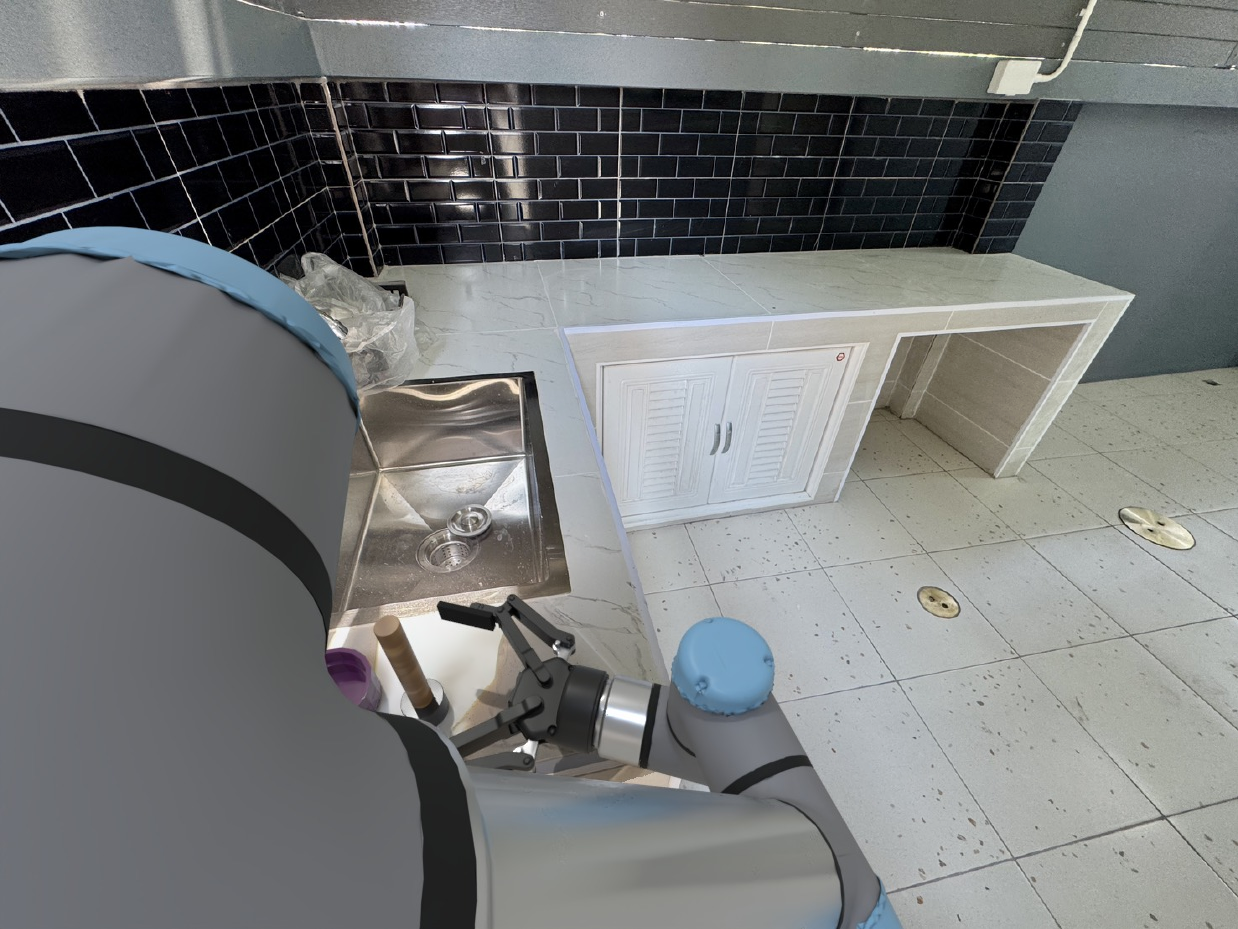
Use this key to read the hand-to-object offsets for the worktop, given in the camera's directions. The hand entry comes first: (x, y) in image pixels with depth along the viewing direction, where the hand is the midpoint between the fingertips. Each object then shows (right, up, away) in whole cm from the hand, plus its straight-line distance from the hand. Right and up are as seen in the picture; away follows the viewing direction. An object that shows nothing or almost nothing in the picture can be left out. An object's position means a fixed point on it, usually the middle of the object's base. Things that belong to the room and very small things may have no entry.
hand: (408, 663), depth 53 cm
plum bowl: (-12, -8, +7) cm, 16 cm away
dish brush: (-1, -8, +7) cm, 11 cm away
